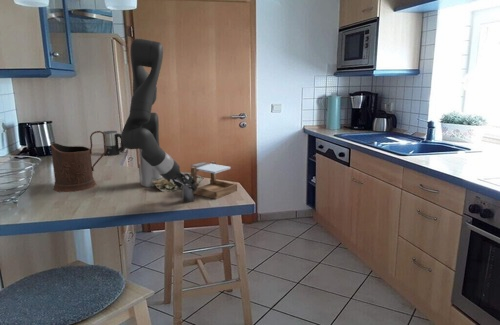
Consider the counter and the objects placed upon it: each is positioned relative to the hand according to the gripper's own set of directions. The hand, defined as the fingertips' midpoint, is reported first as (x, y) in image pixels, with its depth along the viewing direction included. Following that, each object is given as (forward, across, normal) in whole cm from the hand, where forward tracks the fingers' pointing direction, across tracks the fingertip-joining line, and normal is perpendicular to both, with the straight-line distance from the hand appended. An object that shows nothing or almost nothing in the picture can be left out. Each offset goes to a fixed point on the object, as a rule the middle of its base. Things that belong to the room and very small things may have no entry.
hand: (188, 187), depth 152 cm
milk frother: (+33, +107, -25) cm, 115 cm away
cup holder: (-5, +56, +14) cm, 58 cm away
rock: (+13, +18, -4) cm, 23 cm away
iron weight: (+4, 0, +4) cm, 6 cm away
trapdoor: (+8, +1, -13) cm, 15 cm away
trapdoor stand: (+14, 0, -6) cm, 16 cm away
